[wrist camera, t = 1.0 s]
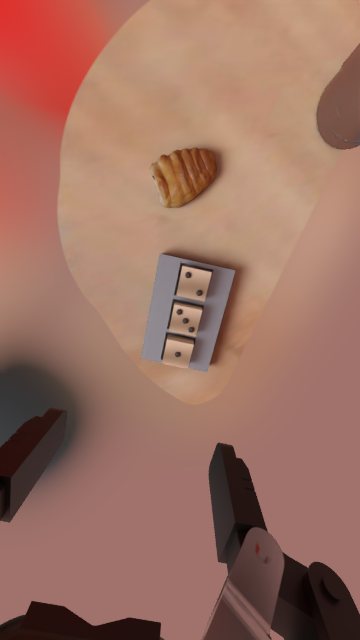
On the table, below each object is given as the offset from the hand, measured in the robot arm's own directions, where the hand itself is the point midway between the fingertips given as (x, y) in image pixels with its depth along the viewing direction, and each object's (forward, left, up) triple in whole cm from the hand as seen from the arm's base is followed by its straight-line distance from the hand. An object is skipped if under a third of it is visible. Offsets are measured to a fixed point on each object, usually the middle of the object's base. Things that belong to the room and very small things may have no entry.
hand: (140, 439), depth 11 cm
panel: (0, +2, -28) cm, 28 cm away
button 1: (+5, +2, -26) cm, 26 cm away
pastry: (-20, -3, -28) cm, 35 cm away
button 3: (0, +2, -26) cm, 26 cm away
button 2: (-6, +2, -26) cm, 26 cm away
